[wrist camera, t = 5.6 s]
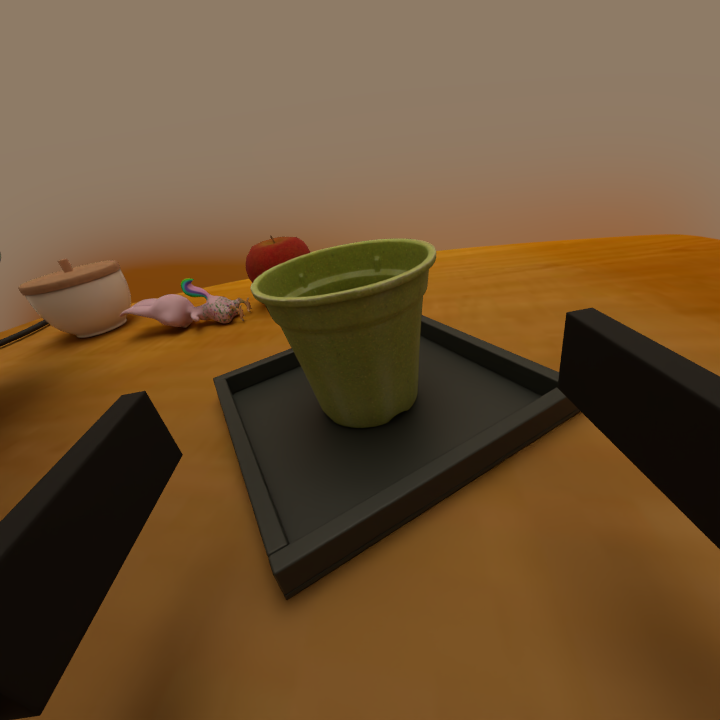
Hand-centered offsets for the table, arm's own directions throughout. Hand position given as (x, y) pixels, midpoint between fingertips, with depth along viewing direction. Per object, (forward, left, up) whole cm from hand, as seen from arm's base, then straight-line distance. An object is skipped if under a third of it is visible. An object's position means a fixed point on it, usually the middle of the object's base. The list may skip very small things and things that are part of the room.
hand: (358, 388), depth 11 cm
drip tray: (-8, +4, -7) cm, 11 cm away
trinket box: (-48, -16, -7) cm, 51 cm away
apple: (-34, +7, -7) cm, 35 cm away
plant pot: (-8, +4, -7) cm, 11 cm away
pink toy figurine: (-36, -5, -7) cm, 37 cm away
